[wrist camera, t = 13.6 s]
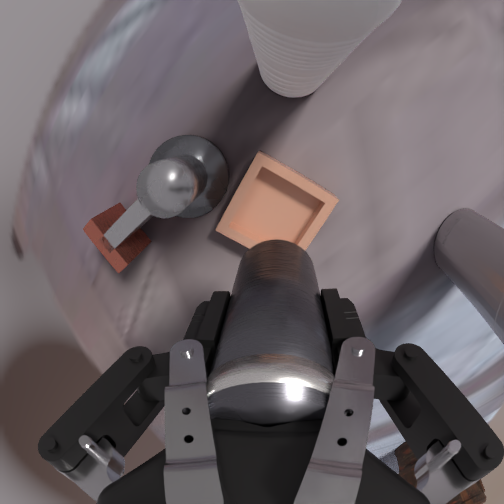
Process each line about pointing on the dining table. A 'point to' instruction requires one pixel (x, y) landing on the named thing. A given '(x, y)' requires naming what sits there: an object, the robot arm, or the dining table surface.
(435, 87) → the dining table surface
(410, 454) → the clay pot
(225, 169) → the base
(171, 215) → the crank
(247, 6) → the water bottle
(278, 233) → the tray
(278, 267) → the peg
